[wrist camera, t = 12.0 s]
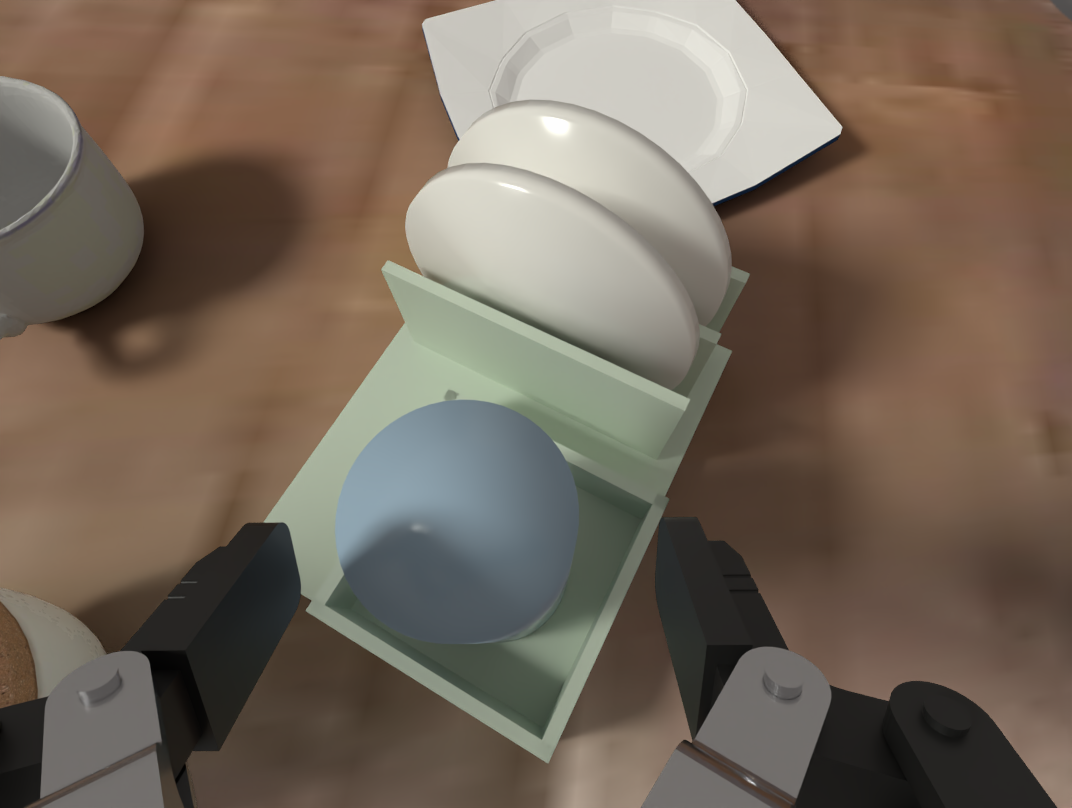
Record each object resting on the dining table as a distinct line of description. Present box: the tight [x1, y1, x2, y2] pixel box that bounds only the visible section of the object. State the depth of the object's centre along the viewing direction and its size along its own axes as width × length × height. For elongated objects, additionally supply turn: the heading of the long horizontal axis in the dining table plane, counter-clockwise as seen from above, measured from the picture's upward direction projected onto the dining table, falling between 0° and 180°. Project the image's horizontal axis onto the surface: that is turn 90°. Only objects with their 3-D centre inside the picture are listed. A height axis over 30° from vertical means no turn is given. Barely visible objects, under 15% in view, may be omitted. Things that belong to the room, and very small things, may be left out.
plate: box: [422, 0, 842, 206], centre depth 35 cm, size 20×20×3 cm
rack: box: [263, 260, 750, 763], centre depth 24 cm, size 19×15×7 cm
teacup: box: [0, 76, 144, 340], centre depth 28 cm, size 14×11×8 cm
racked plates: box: [405, 99, 732, 390], centre depth 23 cm, size 4×12×12 cm, turn 62°
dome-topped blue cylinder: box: [335, 400, 579, 644], centre depth 19 cm, size 6×6×11 cm
